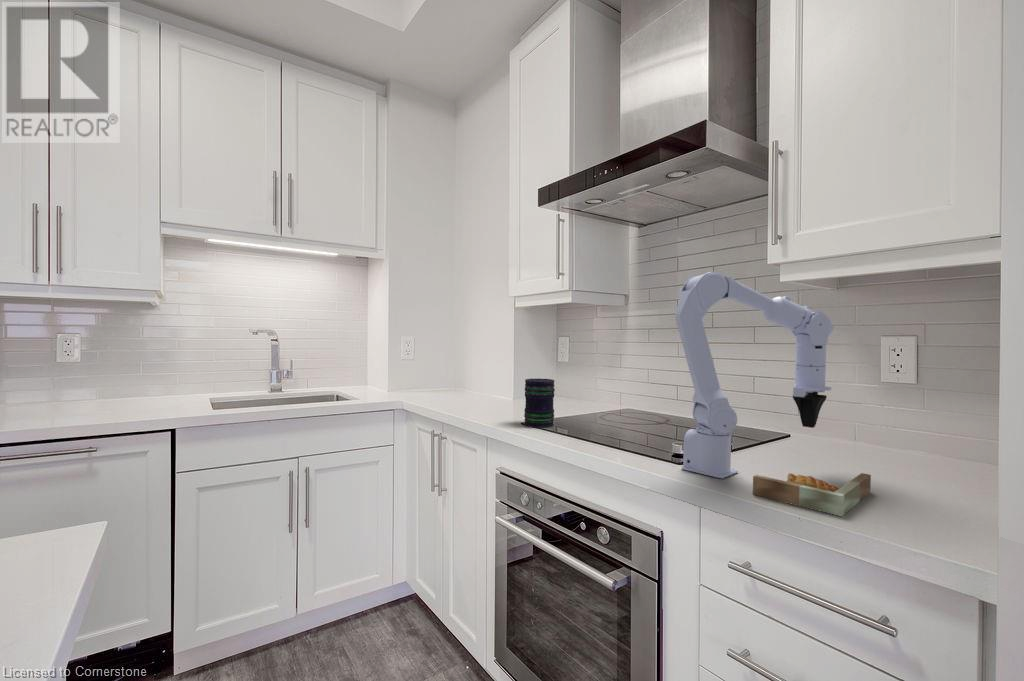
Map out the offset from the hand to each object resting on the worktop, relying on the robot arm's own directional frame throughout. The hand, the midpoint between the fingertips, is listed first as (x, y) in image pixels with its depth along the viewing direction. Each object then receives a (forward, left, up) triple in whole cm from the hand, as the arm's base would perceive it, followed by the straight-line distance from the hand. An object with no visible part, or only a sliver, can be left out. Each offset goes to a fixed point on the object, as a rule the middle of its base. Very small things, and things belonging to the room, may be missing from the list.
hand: (808, 426), depth 107 cm
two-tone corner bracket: (+5, -14, -10) cm, 18 cm away
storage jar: (-76, -9, -11) cm, 77 cm away
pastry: (+5, -16, -11) cm, 20 cm away
